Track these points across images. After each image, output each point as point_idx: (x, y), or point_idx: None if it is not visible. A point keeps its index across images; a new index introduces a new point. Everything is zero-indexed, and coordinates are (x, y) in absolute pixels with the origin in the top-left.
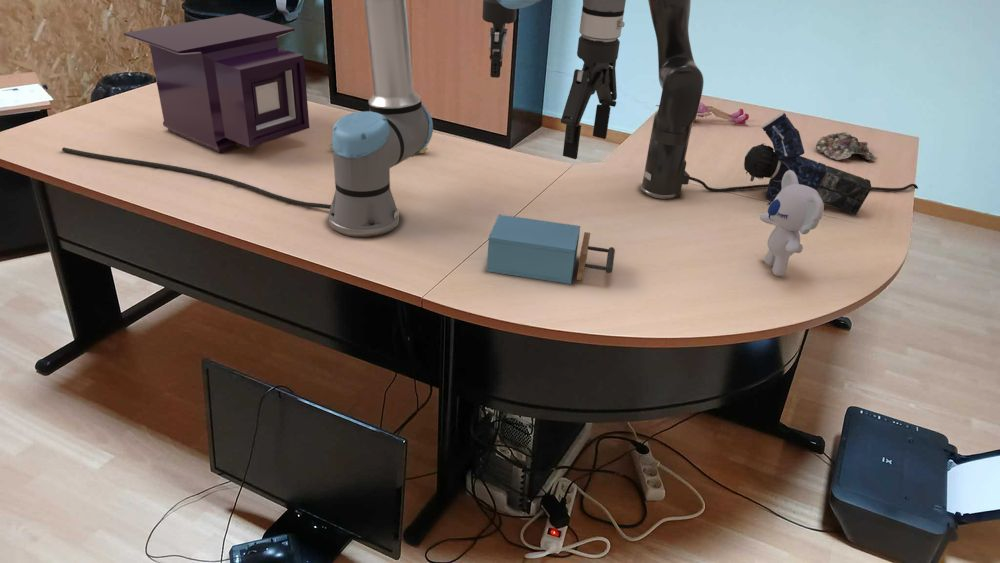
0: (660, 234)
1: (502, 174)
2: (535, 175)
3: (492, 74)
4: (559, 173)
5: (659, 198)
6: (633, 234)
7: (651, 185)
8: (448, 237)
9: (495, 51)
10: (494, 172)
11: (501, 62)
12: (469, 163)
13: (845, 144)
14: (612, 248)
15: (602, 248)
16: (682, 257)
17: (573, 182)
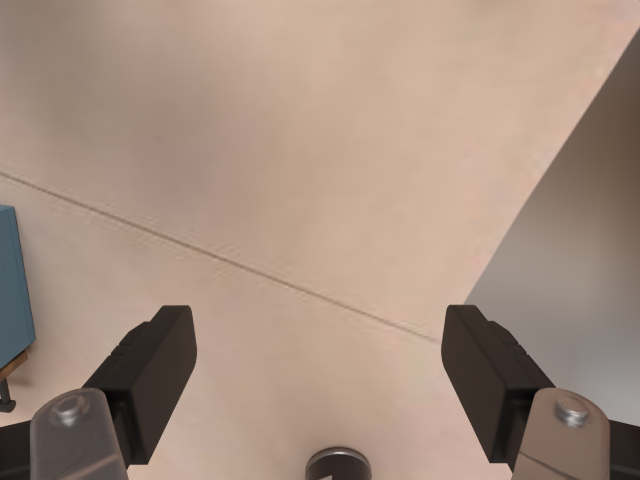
0: (174, 455)
1: (375, 200)
2: (380, 272)
3: (139, 329)
4: (397, 319)
5: (306, 468)
6: None
7: (313, 475)
8: (9, 100)
9: (499, 404)
10: (384, 180)
11: (452, 380)
12: (436, 109)
13: None
14: (3, 411)
15: (3, 395)
16: None
17: (354, 343)
